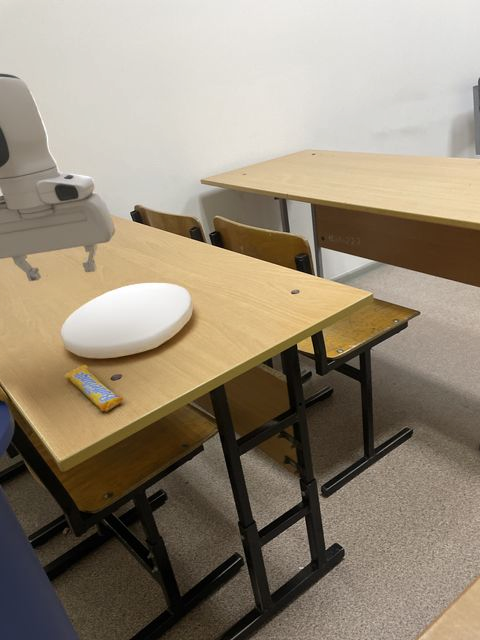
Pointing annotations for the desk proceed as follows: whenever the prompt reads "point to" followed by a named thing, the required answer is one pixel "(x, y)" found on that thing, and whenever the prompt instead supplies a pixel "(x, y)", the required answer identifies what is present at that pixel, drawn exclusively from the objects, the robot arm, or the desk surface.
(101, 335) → the plate
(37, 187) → the robot arm
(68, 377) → the candy bar
